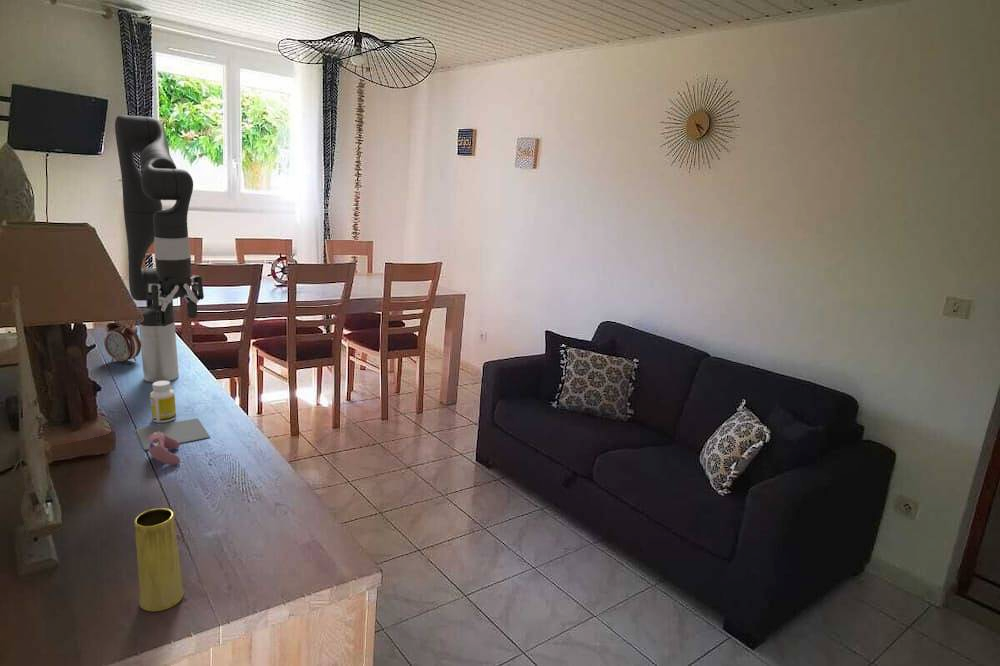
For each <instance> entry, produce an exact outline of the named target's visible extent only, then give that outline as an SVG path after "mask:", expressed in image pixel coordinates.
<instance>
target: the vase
mask: <svg viewBox="0 0 1000 666" xmlns="http://www.w3.org/2000/svg"><path fill="white" fill-rule="evenodd" d="M133 525H134V535H135V547H136V559H137V560H136V562H137V575H138V583H139V586H138V587H139V607H140V608H141V610H143V611H145V612H161V611H165V610H168V609H171V608H173V607H175V606H176V605H177V604H179V603H180V602H181V601H182V599H183V597H184V595H185V591H184V588H183V578H182V571H181V562H180V555H179V554H180V553H179V548H178V540H177V531H176V519H175V514H174V511H173V510H172V509H170V508H163V507H159V508H152V509H147V510H145V511H142V512H141V513H139V514H138V515H137V516H136V517H135V519H134V521H133Z"/></svg>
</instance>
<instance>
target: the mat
mask: <svg viewBox="0 0 1000 666" xmlns="http://www.w3.org/2000/svg"><path fill="white" fill-rule="evenodd" d="M158 431H159V432H162V433H164V434H165V435H166V436H168V437H170V438H173V439H175V440H176V441H177V442H178V443H179V445H182V444H187V443H191V442H190V441H192V442H195V440H197V441H200V440H199V439H202V440H205V439H204V438H207V439H209V438H208V437H210V438H211V435H210V434H209V433H208V431H207V430H206V428H205V427H204V426H203V423H202V422H201V420H199V418H197V417H196V418H191V419H185V420H180V421H174V422H173V421H172V422H166V423H161V424H156V425H152V426H146V427H140V428H135V432H136V435H137V437H138V439H139V441H140V443H141V446H142V448H143V450H144V451H149V449H148V447H149V446H150V444H149V436H150V435H152V434H153V433H158ZM186 442H187V443H186Z"/></svg>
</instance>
